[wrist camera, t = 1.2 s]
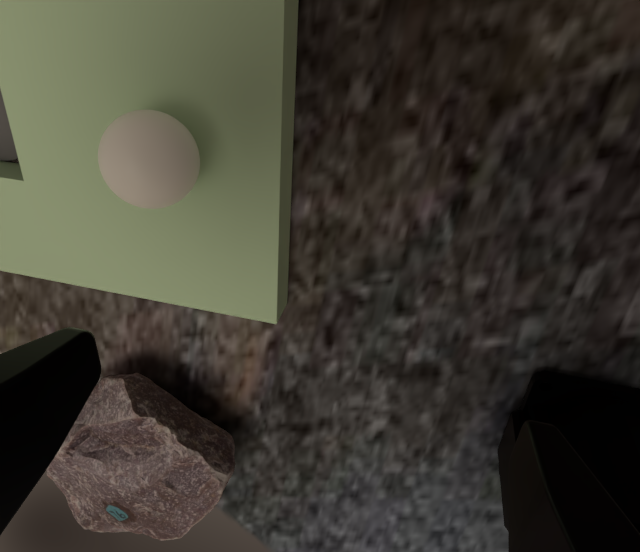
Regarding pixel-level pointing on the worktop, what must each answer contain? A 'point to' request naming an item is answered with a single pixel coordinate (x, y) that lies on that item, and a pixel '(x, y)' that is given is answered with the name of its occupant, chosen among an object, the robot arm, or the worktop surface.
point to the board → (168, 97)
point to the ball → (148, 159)
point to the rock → (141, 461)
